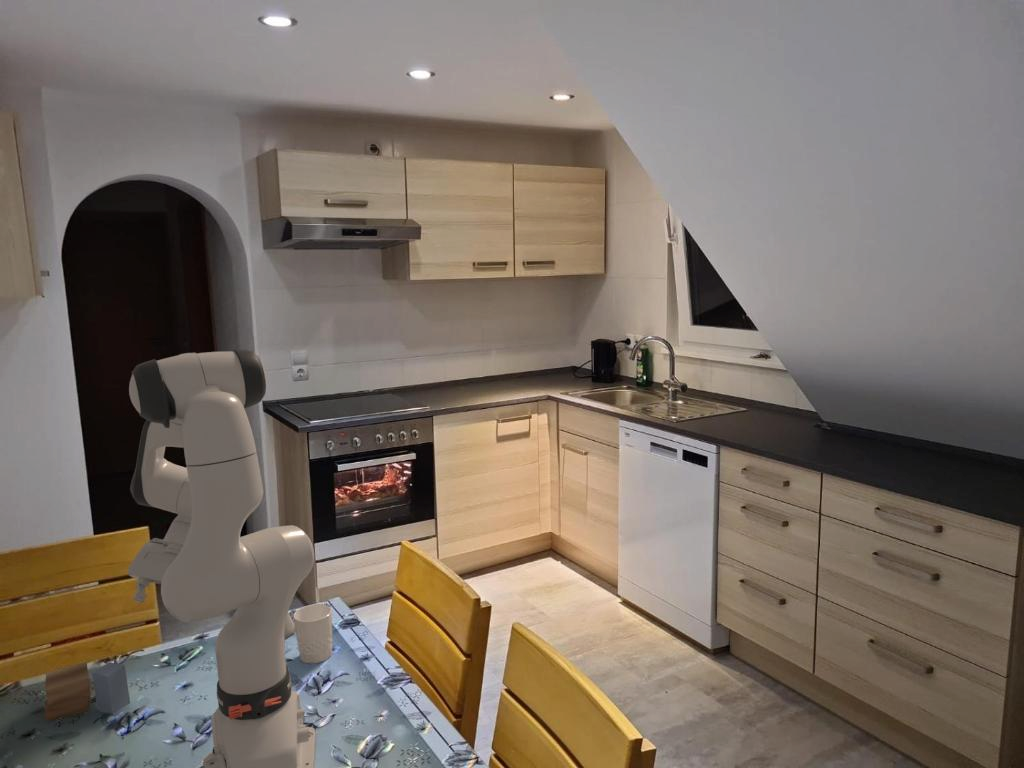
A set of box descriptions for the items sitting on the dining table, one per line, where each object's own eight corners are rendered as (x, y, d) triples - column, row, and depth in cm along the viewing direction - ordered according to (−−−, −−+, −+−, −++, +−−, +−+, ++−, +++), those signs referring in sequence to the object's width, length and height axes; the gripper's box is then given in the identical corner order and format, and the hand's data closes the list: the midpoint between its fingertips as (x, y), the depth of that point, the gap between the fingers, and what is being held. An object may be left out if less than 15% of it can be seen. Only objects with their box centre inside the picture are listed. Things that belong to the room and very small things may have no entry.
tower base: (88, 713, 145) (86, 697, 145) (46, 723, 143) (44, 706, 142) (92, 694, 152) (90, 678, 151) (52, 703, 149) (50, 687, 148)
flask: (286, 642, 169) (282, 600, 167) (257, 640, 170) (253, 598, 168) (301, 626, 176) (298, 586, 174) (273, 624, 177) (269, 584, 175)
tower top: (90, 695, 145) (87, 678, 145) (48, 707, 142) (45, 690, 141) (89, 678, 151) (86, 662, 151) (48, 689, 148) (45, 673, 147)
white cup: (289, 658, 162) (285, 615, 160) (318, 642, 168) (314, 600, 166) (314, 669, 157) (310, 625, 155) (342, 652, 164) (339, 609, 162)
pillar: (130, 702, 148) (124, 665, 146) (112, 714, 144) (107, 676, 143) (115, 698, 149) (109, 661, 148) (97, 710, 146) (91, 672, 144)
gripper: (140, 531, 164) (107, 592, 157) (213, 542, 156) (183, 607, 149) (158, 542, 169) (127, 602, 162) (231, 554, 161) (202, 617, 154)
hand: (154, 605), depth 155 cm, fingers open, 8 cm apart
